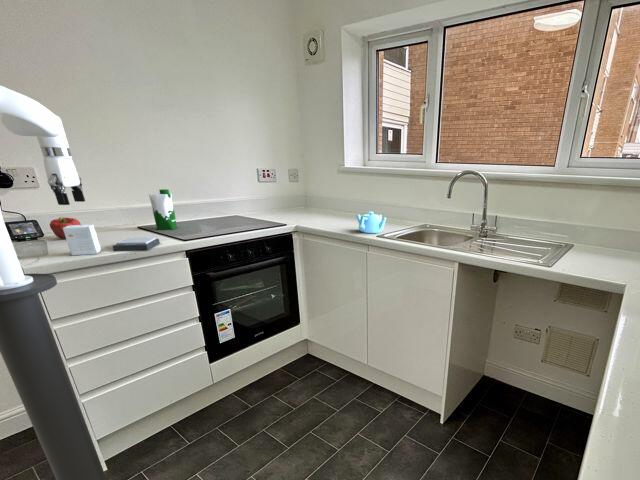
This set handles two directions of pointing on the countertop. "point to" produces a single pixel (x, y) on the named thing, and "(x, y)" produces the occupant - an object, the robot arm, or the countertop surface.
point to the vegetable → (62, 225)
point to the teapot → (371, 223)
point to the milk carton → (163, 210)
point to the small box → (82, 239)
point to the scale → (136, 244)
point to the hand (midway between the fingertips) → (72, 203)
